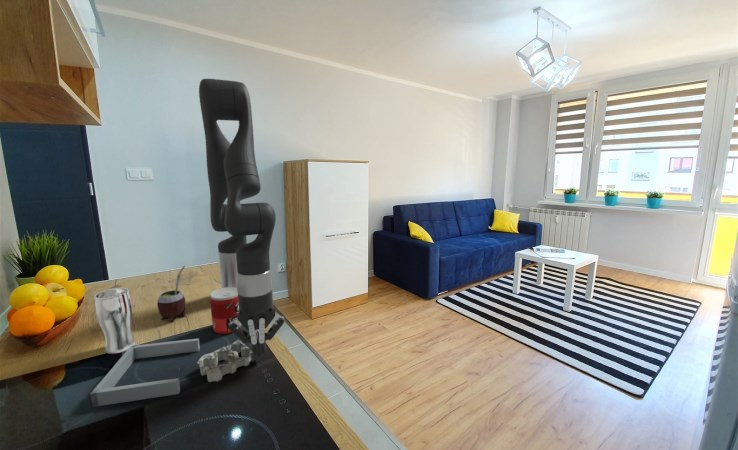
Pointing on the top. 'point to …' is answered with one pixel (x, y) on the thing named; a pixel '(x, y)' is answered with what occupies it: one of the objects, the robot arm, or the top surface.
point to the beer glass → (115, 319)
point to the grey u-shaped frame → (111, 395)
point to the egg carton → (224, 354)
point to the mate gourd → (172, 303)
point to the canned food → (224, 308)
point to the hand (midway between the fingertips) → (259, 355)
